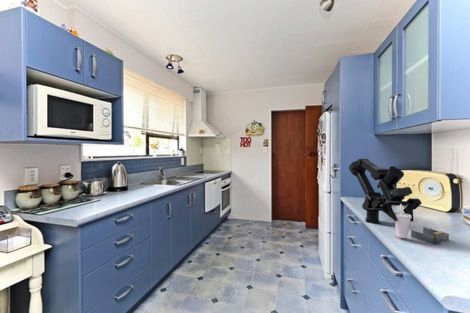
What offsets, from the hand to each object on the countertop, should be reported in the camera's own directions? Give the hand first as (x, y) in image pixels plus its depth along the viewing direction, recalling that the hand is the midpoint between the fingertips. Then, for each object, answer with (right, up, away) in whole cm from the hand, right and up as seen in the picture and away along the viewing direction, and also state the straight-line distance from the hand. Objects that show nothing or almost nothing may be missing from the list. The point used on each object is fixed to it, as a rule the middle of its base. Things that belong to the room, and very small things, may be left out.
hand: (404, 221), depth 94 cm
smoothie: (0, -7, +2) cm, 7 cm away
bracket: (+12, -8, +2) cm, 14 cm away
